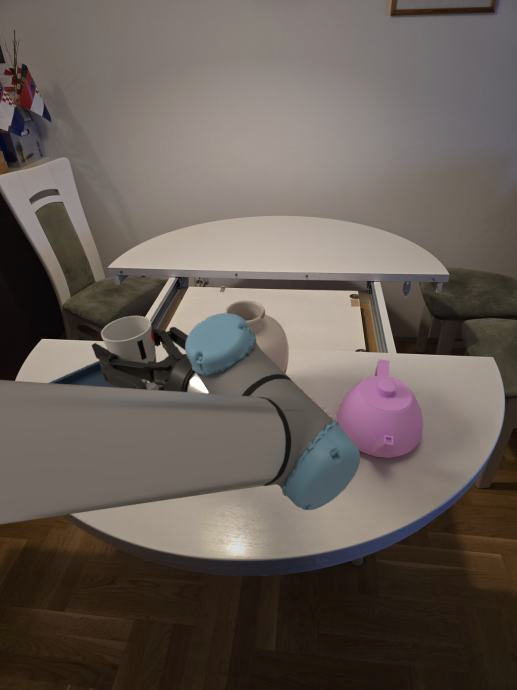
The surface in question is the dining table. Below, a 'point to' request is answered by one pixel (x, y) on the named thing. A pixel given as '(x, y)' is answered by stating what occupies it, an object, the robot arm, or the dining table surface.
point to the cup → (130, 339)
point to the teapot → (381, 415)
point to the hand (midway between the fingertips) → (116, 339)
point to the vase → (264, 331)
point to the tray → (85, 377)
